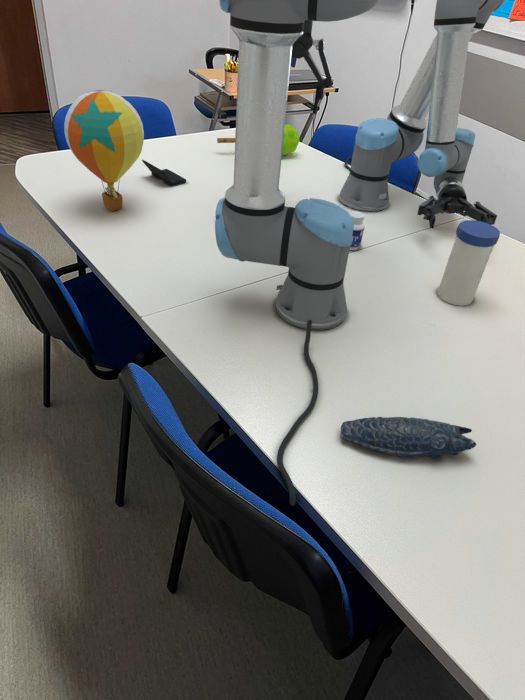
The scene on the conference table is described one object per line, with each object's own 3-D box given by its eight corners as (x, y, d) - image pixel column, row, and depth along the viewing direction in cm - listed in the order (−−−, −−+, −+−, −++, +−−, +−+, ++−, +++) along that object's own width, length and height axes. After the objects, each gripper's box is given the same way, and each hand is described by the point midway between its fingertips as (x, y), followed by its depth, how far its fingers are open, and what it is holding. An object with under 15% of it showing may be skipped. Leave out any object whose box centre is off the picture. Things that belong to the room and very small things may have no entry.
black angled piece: (190, 175, 164) (173, 153, 156) (179, 193, 163) (161, 172, 155) (166, 170, 170) (147, 148, 162) (155, 188, 169) (136, 167, 161)
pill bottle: (338, 247, 137) (344, 215, 131) (342, 239, 140) (348, 208, 135) (357, 252, 135) (364, 220, 130) (361, 243, 139) (368, 212, 134)
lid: (489, 230, 116) (493, 221, 115) (502, 248, 109) (505, 240, 108) (451, 227, 116) (454, 218, 115) (461, 245, 109) (464, 236, 108)
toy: (64, 203, 145) (44, 85, 127) (127, 189, 156) (117, 79, 137) (97, 229, 134) (80, 105, 116) (162, 213, 145) (156, 96, 126)
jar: (467, 288, 125) (491, 224, 115) (476, 307, 119) (503, 241, 109) (434, 285, 125) (455, 221, 115) (441, 304, 119) (464, 237, 108)
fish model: (474, 470, 81) (484, 449, 78) (339, 453, 82) (344, 431, 79) (465, 439, 86) (475, 417, 83) (339, 423, 87) (344, 401, 84)
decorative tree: (214, 118, 187) (294, 118, 193) (214, 147, 194) (292, 146, 199) (220, 132, 174) (307, 132, 179) (220, 164, 180) (304, 162, 185)
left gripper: (351, 16, 123) (337, 111, 137) (248, 5, 125) (244, 100, 139) (351, 20, 118) (336, 118, 131) (243, 8, 119) (238, 107, 133)
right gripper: (491, 214, 150) (505, 246, 133) (404, 203, 152) (407, 234, 136) (500, 188, 145) (516, 219, 128) (410, 178, 148) (414, 206, 131)
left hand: (288, 109), depth 135 cm, fingers open, 13 cm apart
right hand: (460, 227), depth 132 cm, fingers open, 13 cm apart
